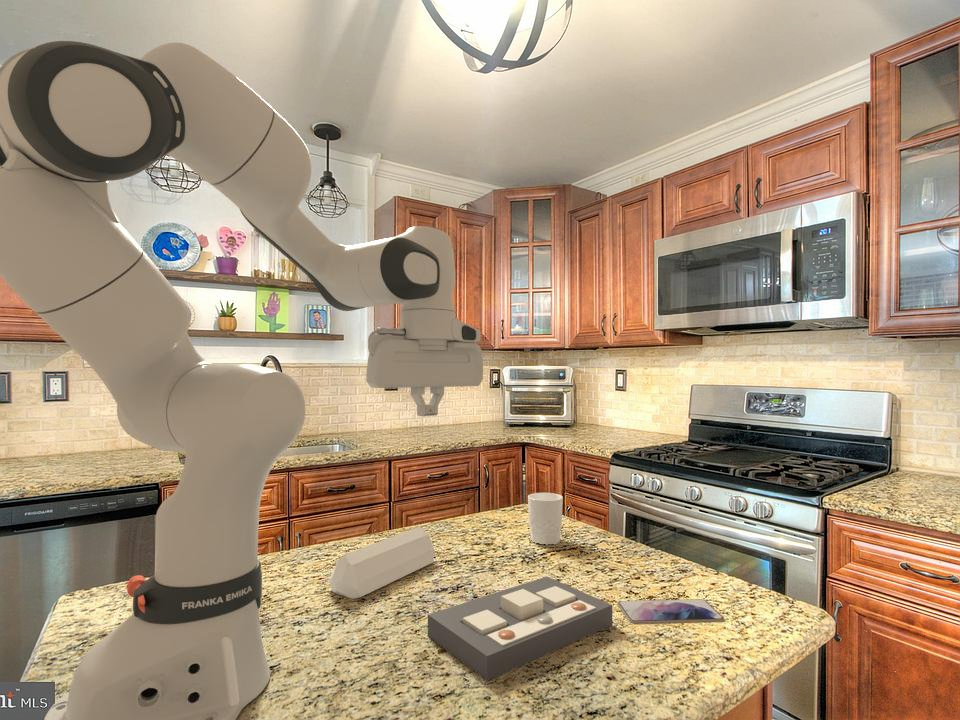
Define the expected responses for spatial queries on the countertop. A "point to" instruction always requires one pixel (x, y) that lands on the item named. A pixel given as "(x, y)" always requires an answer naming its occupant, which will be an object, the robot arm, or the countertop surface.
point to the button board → (517, 629)
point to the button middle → (522, 604)
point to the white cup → (545, 517)
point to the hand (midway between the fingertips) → (427, 415)
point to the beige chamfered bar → (381, 563)
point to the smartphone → (669, 611)
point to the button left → (484, 622)
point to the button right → (556, 596)
